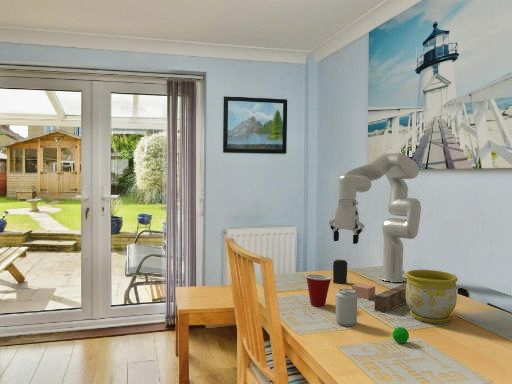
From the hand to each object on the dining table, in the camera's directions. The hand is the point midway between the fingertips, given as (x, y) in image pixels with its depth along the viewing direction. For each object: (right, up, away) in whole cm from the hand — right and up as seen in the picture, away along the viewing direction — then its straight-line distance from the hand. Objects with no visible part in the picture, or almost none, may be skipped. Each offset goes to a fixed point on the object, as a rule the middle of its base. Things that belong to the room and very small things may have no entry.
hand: (345, 242), depth 193 cm
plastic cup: (-14, -24, -14) cm, 31 cm away
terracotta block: (+7, -24, -1) cm, 25 cm away
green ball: (+7, -26, -53) cm, 59 cm away
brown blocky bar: (+18, -24, -12) cm, 33 cm away
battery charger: (+2, -23, +23) cm, 33 cm away
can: (-7, -25, -36) cm, 44 cm away
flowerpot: (+26, -25, -28) cm, 46 cm away
